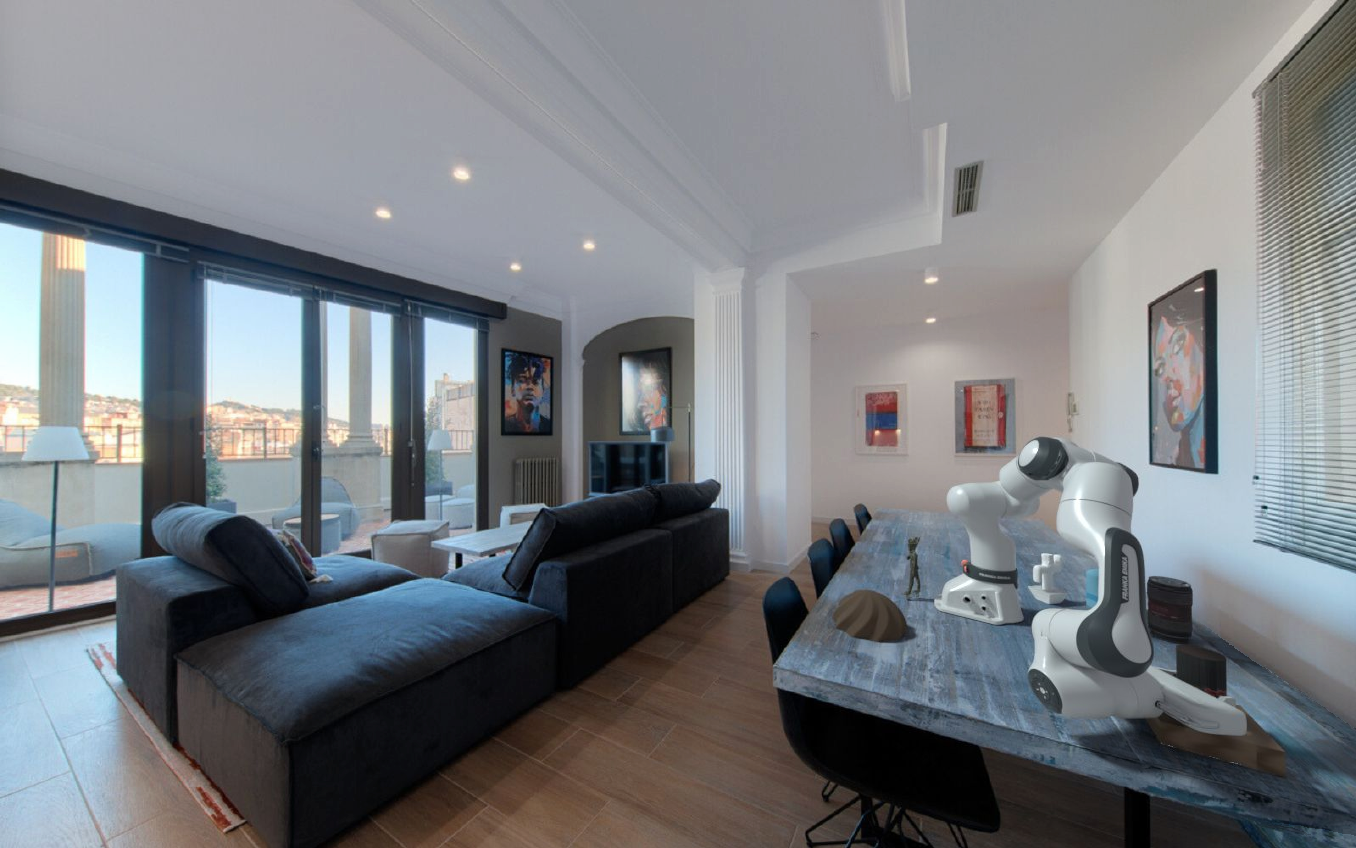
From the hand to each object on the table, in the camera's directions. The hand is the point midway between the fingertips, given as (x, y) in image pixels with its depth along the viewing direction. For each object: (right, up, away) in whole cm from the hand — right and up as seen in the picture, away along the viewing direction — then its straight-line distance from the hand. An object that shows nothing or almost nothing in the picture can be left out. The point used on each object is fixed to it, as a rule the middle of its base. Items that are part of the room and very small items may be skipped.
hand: (1205, 688), depth 81 cm
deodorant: (-1, -9, 0) cm, 9 cm away
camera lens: (+33, -8, +36) cm, 50 cm away
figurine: (+22, -9, +61) cm, 66 cm away
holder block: (-1, -9, 0) cm, 9 cm away
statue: (-20, -9, +65) cm, 68 cm away
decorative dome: (-42, -10, +46) cm, 62 cm away
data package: (+35, -9, +53) cm, 64 cm away
